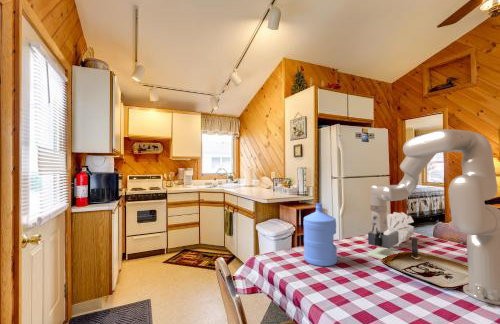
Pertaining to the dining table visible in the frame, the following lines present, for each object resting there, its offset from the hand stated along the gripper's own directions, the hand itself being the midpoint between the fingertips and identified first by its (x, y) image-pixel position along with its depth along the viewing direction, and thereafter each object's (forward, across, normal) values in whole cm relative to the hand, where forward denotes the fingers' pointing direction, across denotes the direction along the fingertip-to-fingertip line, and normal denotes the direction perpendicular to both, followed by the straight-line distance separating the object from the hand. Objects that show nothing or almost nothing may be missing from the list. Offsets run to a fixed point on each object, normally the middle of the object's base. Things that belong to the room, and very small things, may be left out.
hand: (379, 244), depth 122 cm
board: (+6, +5, 0) cm, 8 cm away
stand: (+6, +11, -13) cm, 18 cm away
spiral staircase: (+7, +30, +2) cm, 31 cm away
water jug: (+6, -26, +18) cm, 32 cm away
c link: (+1, +6, 0) cm, 6 cm away
